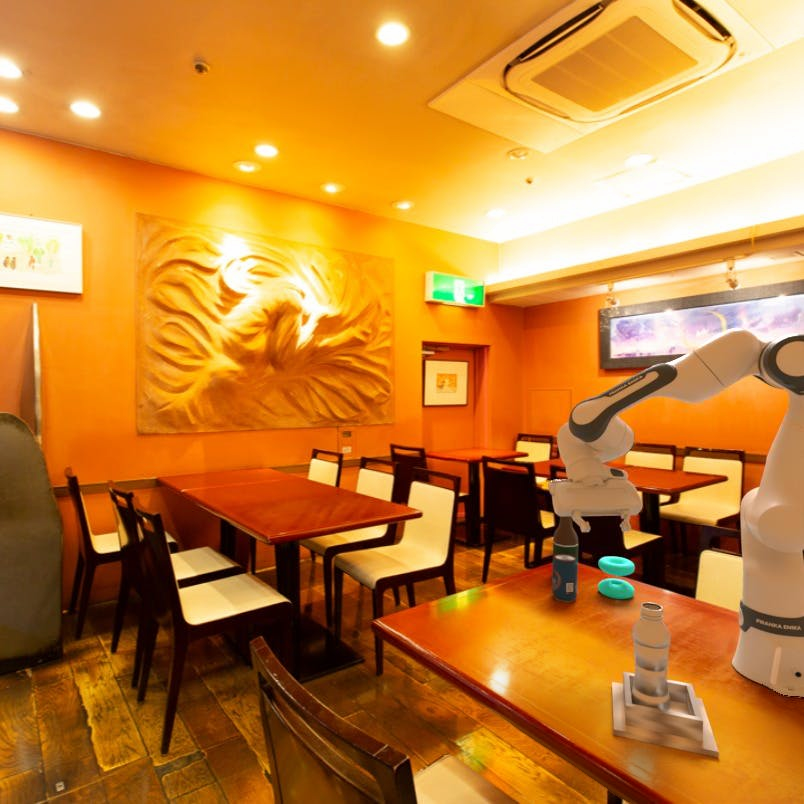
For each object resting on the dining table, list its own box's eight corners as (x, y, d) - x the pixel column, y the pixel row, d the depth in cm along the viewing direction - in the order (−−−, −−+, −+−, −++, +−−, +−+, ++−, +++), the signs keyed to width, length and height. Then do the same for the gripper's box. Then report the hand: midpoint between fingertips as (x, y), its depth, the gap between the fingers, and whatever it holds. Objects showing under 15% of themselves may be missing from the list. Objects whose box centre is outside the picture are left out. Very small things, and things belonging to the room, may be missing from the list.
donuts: (642, 563, 153) (615, 567, 149) (642, 597, 153) (615, 602, 149) (616, 553, 162) (591, 557, 158) (616, 585, 162) (590, 590, 159)
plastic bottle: (677, 717, 95) (679, 608, 95) (656, 730, 92) (658, 617, 91) (644, 700, 101) (645, 596, 100) (623, 711, 97) (624, 604, 97)
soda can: (548, 594, 156) (548, 553, 155) (570, 593, 156) (571, 553, 156) (557, 603, 149) (558, 561, 148) (581, 602, 149) (581, 560, 149)
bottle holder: (701, 703, 101) (701, 680, 101) (718, 757, 86) (719, 731, 86) (612, 686, 107) (612, 664, 107) (613, 734, 92) (614, 709, 92)
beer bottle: (551, 578, 168) (552, 503, 168) (553, 570, 176) (554, 499, 175) (577, 581, 166) (578, 505, 165) (578, 573, 173) (579, 500, 172)
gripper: (549, 472, 124) (565, 524, 115) (633, 471, 126) (655, 522, 116) (542, 487, 129) (557, 538, 119) (623, 486, 130) (644, 536, 121)
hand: (606, 530), depth 118 cm, fingers open, 8 cm apart
